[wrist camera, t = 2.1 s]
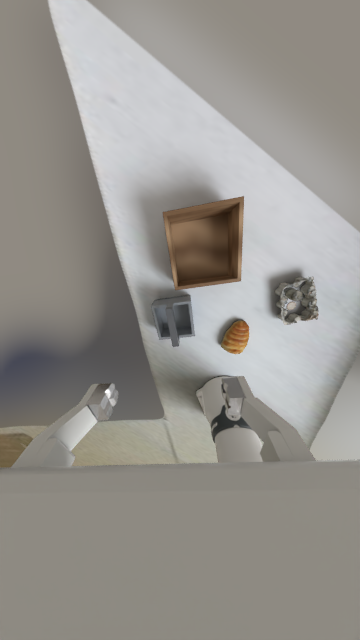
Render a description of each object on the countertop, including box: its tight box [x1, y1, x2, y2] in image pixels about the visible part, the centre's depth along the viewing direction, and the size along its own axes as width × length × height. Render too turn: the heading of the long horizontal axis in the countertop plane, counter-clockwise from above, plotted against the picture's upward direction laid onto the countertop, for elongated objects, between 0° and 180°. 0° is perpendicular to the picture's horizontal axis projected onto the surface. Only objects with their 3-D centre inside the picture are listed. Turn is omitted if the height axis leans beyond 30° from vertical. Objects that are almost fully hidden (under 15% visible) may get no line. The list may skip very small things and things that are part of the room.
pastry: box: [221, 320, 249, 354], centre depth 37 cm, size 9×7×4 cm
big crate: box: [163, 196, 244, 290], centre depth 27 cm, size 13×13×7 cm
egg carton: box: [275, 277, 318, 325], centre depth 32 cm, size 11×8×4 cm
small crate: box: [151, 295, 195, 347], centre depth 33 cm, size 9×9×9 cm
